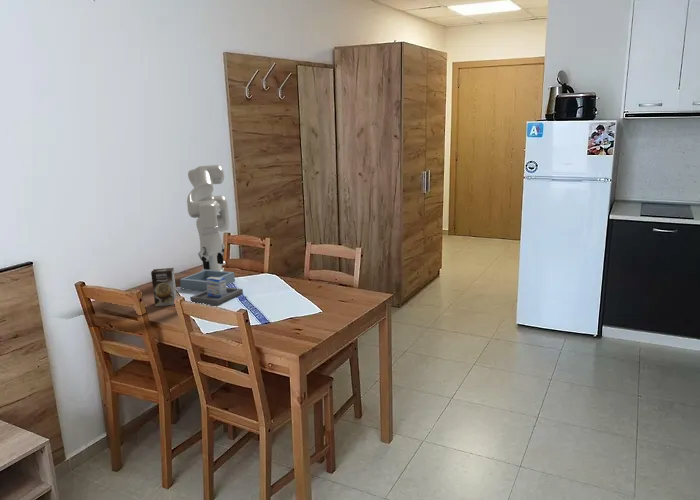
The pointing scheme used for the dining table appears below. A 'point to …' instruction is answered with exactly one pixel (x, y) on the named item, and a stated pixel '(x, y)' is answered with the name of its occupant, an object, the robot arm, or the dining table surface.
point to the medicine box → (216, 287)
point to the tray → (216, 301)
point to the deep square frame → (199, 279)
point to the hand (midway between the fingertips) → (213, 266)
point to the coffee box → (164, 286)
